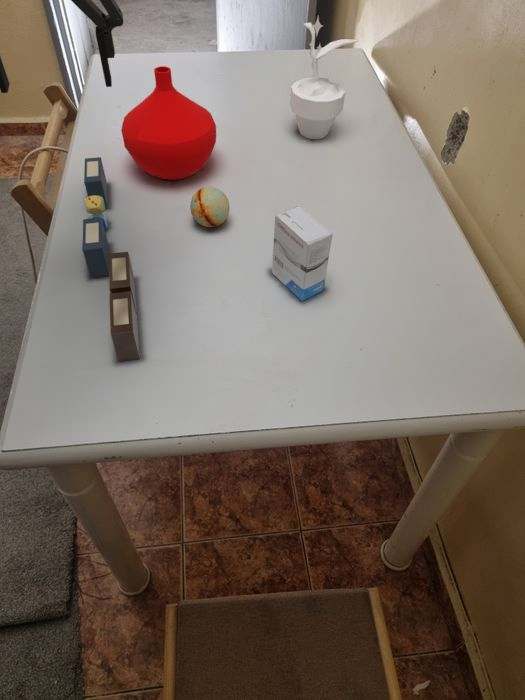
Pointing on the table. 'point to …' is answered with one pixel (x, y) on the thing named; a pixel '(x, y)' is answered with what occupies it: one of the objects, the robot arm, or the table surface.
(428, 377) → the table surface
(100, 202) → the dice
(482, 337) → the table surface
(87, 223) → the blue block
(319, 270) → the ink box
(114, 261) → the brown paneled block
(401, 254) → the table surface
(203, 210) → the ball
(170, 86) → the vase
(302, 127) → the potted plant
